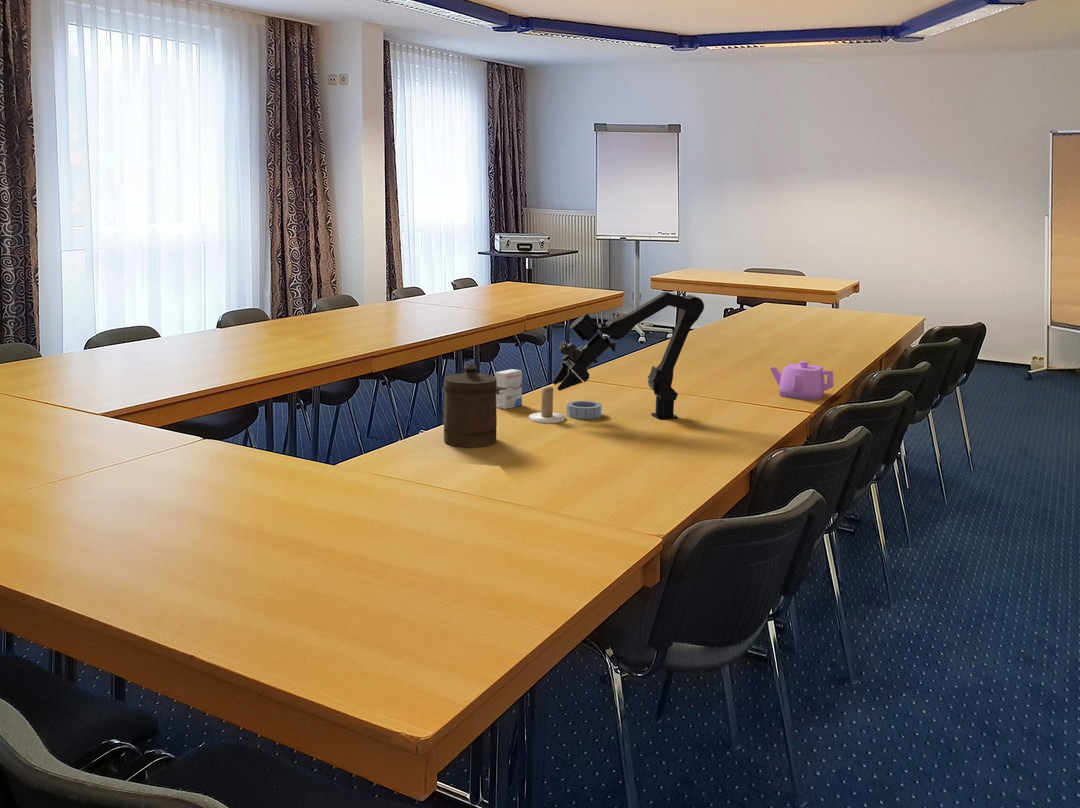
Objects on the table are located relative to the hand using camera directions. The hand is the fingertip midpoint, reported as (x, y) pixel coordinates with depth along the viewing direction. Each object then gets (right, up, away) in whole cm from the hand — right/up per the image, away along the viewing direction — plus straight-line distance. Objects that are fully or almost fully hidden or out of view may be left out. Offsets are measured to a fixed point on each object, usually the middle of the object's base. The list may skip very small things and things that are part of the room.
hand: (555, 386), depth 295 cm
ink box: (-15, -6, +19) cm, 25 cm away
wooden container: (-25, -16, -25) cm, 39 cm away
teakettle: (+87, -3, +41) cm, 96 cm away
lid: (-3, -10, +2) cm, 11 cm away
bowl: (+9, -9, +7) cm, 15 cm away
